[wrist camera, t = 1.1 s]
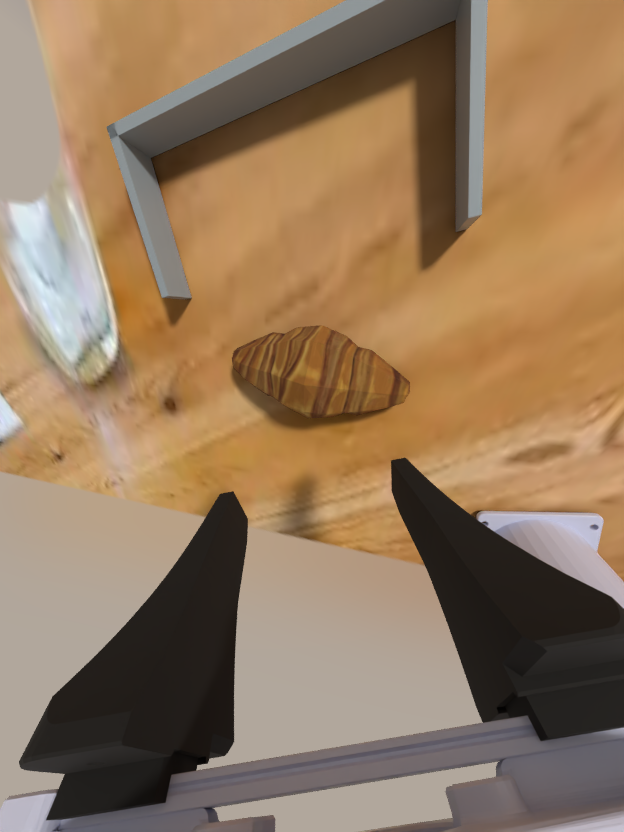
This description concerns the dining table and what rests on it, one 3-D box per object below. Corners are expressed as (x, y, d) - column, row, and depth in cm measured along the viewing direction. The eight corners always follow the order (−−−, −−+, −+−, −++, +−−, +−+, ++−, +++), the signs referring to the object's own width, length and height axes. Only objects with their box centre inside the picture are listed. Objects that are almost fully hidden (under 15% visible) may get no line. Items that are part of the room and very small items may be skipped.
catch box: (466, 229, 15) (481, 214, 13) (185, 299, 21) (162, 297, 19) (469, -5, 12) (489, -76, 10) (140, 150, 18) (106, 126, 16)
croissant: (422, 340, 18) (436, 348, 14) (396, 427, 21) (400, 458, 16) (243, 310, 21) (205, 308, 16) (240, 392, 23) (206, 411, 19)
